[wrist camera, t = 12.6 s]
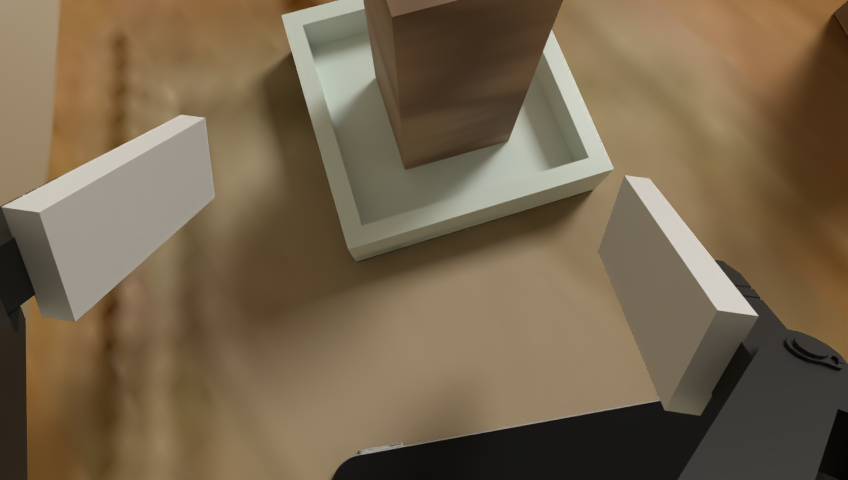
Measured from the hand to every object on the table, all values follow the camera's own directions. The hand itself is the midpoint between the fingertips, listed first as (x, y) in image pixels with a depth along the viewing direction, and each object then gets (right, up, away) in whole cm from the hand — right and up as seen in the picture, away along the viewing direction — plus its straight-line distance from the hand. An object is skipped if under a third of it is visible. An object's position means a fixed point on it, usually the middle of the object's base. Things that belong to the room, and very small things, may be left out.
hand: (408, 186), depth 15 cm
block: (+1, +4, +7) cm, 9 cm away
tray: (+1, +4, +8) cm, 9 cm away
